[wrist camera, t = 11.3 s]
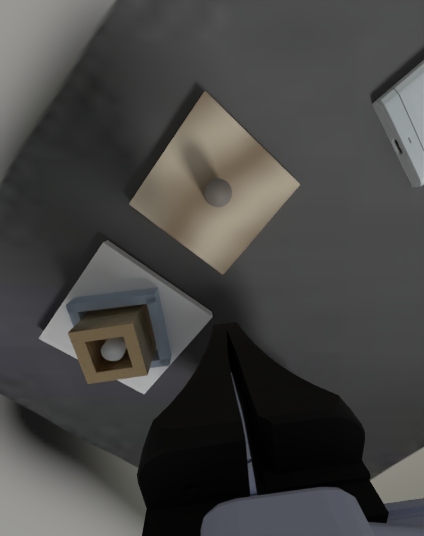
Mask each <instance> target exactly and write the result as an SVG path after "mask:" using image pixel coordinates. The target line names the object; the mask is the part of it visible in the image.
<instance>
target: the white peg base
mask: <svg viewBox="0 0 424 536" xmlns="http://www.w3.org/2000/svg"><path fill="white" fill-rule="evenodd" d="M140 304H147V308H148V312H149V316H150V320H151V323H152V328H153V332H154V336H155V341H156V349H155V352H154V355H153V359H152V362H151V366H150V369H149V372H148V375H146V376H139V377H133V378H126V379H119V380H118V381H120V382H122V383H124V384H125V385H127V386H129V387H131V388H133V389H135V390H137V391H139V392H141V393H143V394H145V393H146V392H147V390H148V389H149V388H150V387H151V386H152V385H153V384H154V383H155V381H156V380H157V379H158V378H159V377H160V376H161V375H162V374H163V372H164V371H165V370H166V369H167V368H168V367H169V366H170V365H171V363H172V362H173V361H174V360H175V359H176V358H177V357H178V356H179V354H180V353H181V352H182V351H183V350H184V349H185V348H186V347H187V345H188V344H189V343H190V342H191V341H192V340H193V339H194V338H195V336H196V335H197V334H198V333H199V332H200V331H201V330H202V329H203V327H204V326H205V325H206V324H207V323H208V322H209V321H210V320H211V318H212V317H213V315H212V312H211V311H210V310H208V309H207V308H206V307H204V306H203V305H201V304H200V303H198V302H197V301H195V300H194V299H193V298H191V297H190V296H188V295H187V294H185V293H184V292H182V291H181V290H179V289H178V288H177V287H175V286H174V285H172V284H171V283H169V282H168V281H166V280H165V279H164V278H162V277H161V276H159V275H158V274H156V273H155V272H153V271H152V270H150V269H149V268H148V267H146V266H145V265H143V264H142V263H140V262H139V261H137V260H136V259H135V258H133V257H132V256H130V255H129V254H127V253H126V252H124V251H123V250H122V249H120V248H119V247H117V246H116V245H114V244H113V243H111V242H110V241H108V240H107V241H105V242H103V243H102V245H101V246H100V248H99V249H98V251H97V252H96V254H95V255H94V257H93V258H92V260H91V261H90V263H89V264H88V266H87V267H86V269H85V270H84V272H83V273H82V275H81V276H80V278H79V279H78V281H77V282H76V283H75V285H74V286H73V288H72V289H71V291H70V292H69V294H68V295H67V297H66V298H65V300H64V301H63V303H62V304H61V306H60V307H59V309H58V310H57V312H56V313H55V315H54V316H53V318H52V319H51V321H50V322H49V324H48V325H47V327H46V328H45V330H44V331H43V333H42V334H41V336H40V337H39V339H40V340H42V341H44V342H46V343H48V344H50V345H52V346H53V347H55V348H57V349H59V350H61V351H63V352H65V353H67V354H69V355H70V356H72V357H74V358H76V359H78V358H77V355H76V353H75V350H74V348H73V345H72V343H71V340H70V338H69V335H68V332H69V331H70V330H71V329H72V328H73V327H74V326H75V325H76V324H77V323H78V322H79V321H80V320H81V319H82V318H83V317H84V316H85V315H86V314H87V313H88V312H89V311H91V310H99V309H108V308H116V307H124V306H132V305H140ZM126 348H127V347H126V344H125V340H124V337H117V338H110V339H107V340H106V342H105V344H104V345H103V347H102V348H101V354H102V356H103V357H104V358H105V359H107V360H109V361H117V360H120V359H121V358H122V357H123V355H124V353H125V351H126Z"/></svg>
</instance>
